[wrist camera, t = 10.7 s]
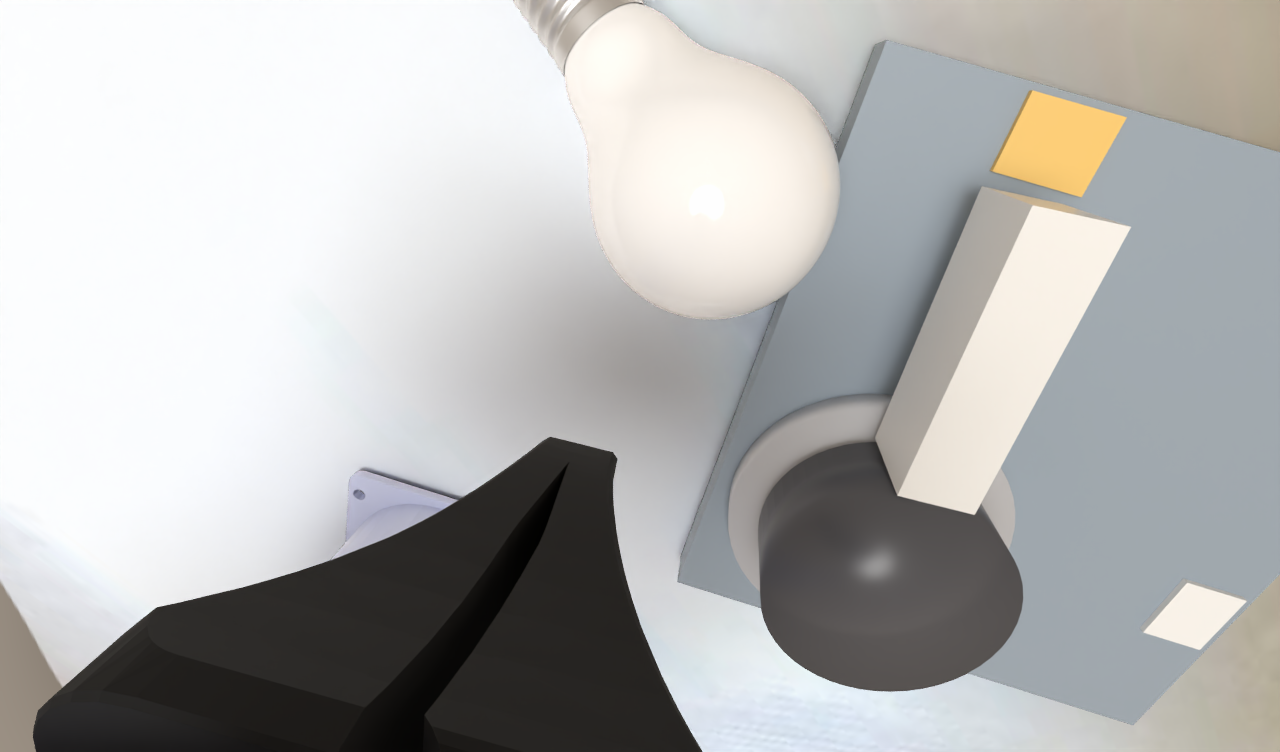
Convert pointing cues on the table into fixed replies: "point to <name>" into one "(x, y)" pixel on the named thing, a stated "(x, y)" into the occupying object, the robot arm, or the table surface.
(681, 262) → the lightbulb
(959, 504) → the cap
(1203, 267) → the base
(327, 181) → the table surface
